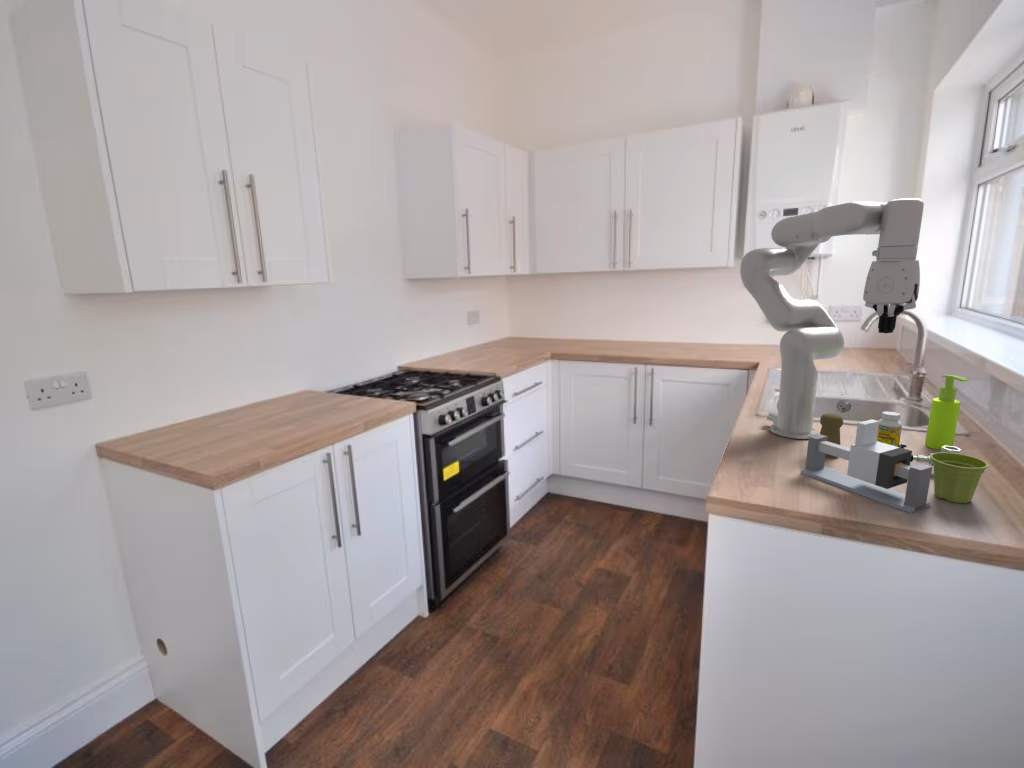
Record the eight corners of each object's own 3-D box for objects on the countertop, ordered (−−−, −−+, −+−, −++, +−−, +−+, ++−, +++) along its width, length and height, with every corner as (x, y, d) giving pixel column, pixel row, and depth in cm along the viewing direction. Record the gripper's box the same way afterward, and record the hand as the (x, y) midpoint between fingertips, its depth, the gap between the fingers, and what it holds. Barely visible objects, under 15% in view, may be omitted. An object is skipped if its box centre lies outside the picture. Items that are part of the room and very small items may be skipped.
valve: (952, 470, 126) (893, 464, 130) (956, 444, 124) (896, 439, 128) (963, 480, 120) (901, 474, 124) (968, 453, 118) (905, 448, 122)
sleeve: (847, 475, 115) (853, 423, 113) (866, 469, 118) (873, 418, 116) (875, 484, 110) (882, 430, 107) (895, 478, 113) (903, 425, 110)
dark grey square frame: (875, 484, 110) (879, 453, 108) (895, 478, 113) (899, 447, 111) (887, 489, 108) (891, 456, 106) (907, 482, 111) (912, 450, 109)
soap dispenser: (944, 452, 137) (957, 378, 132) (919, 444, 143) (930, 373, 139) (962, 450, 138) (975, 377, 133) (936, 442, 144) (948, 372, 140)
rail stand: (800, 472, 126) (804, 437, 124) (819, 467, 129) (823, 433, 127) (910, 513, 105) (916, 471, 103) (929, 505, 107) (936, 465, 106)
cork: (833, 459, 133) (838, 419, 131) (809, 453, 138) (814, 413, 136) (845, 455, 136) (850, 415, 134) (822, 448, 142) (826, 410, 139)
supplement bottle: (900, 446, 142) (905, 412, 140) (896, 451, 138) (902, 417, 136) (876, 442, 145) (881, 409, 143) (872, 447, 142) (877, 413, 140)
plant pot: (934, 503, 108) (940, 465, 106) (917, 486, 117) (923, 450, 115) (990, 510, 105) (998, 470, 103) (968, 491, 114) (975, 454, 112)
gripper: (854, 255, 126) (845, 330, 130) (923, 253, 112) (911, 337, 117) (872, 255, 129) (863, 328, 133) (942, 253, 116) (929, 334, 120)
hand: (885, 332), depth 125 cm, fingers closed
